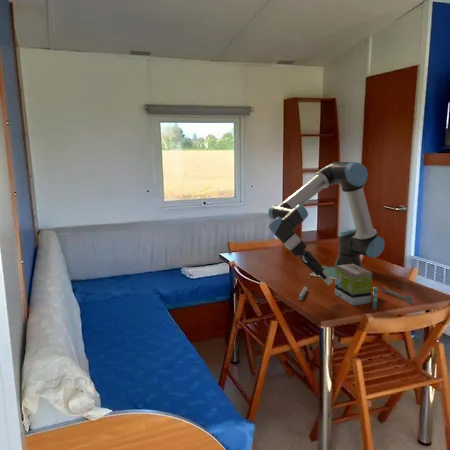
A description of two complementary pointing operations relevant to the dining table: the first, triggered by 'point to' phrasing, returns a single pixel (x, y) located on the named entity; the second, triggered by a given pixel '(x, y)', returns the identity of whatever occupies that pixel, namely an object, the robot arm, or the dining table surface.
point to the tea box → (353, 284)
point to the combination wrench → (398, 295)
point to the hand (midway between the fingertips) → (330, 283)
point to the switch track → (374, 305)
